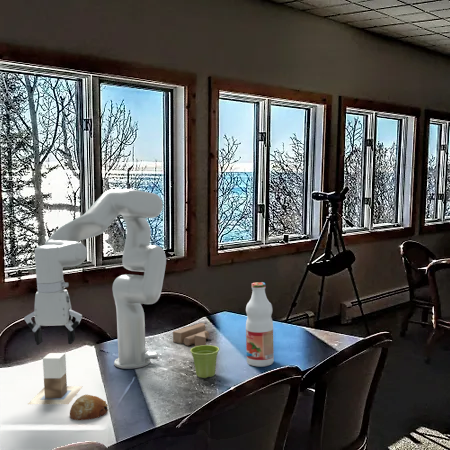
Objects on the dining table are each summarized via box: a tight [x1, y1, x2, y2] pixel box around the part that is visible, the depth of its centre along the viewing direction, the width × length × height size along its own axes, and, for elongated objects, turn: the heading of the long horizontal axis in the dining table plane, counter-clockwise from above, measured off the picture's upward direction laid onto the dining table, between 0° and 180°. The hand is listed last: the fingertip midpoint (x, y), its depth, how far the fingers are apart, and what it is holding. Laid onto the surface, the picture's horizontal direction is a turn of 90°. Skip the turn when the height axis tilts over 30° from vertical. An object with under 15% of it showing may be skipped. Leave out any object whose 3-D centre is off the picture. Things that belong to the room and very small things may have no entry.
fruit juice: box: [245, 281, 275, 368], centre depth 200 cm, size 9×9×28 cm
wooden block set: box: [172, 322, 210, 347], centre depth 230 cm, size 17×6×18 cm
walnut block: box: [43, 372, 68, 398], centre depth 173 cm, size 5×5×6 cm
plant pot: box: [190, 344, 220, 379], centre depth 190 cm, size 9×9×9 cm
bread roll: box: [69, 394, 109, 421], centre depth 160 cm, size 10×10×8 cm
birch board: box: [27, 385, 83, 405], centre depth 173 cm, size 12×14×1 cm
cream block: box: [42, 352, 67, 379], centre depth 173 cm, size 5×5×6 cm
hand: (55, 343), depth 173 cm, fingers open, 9 cm apart
